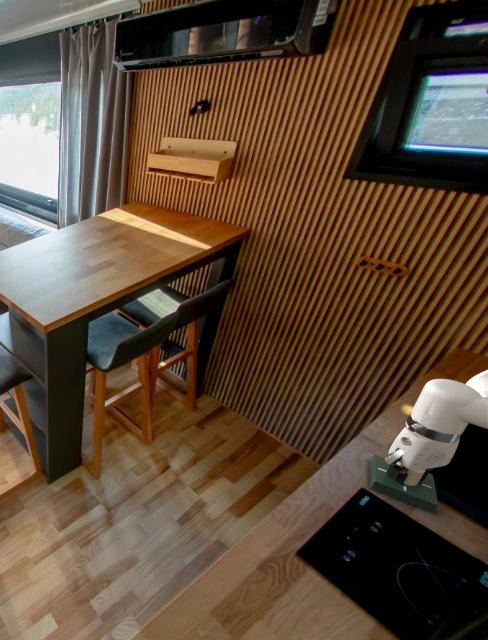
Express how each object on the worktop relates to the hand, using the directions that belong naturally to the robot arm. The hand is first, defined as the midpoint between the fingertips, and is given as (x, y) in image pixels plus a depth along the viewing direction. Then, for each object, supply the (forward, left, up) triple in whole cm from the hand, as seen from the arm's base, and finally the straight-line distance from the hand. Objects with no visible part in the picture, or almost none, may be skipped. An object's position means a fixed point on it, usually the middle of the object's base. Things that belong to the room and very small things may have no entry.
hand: (404, 477), depth 91 cm
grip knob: (0, 0, 0) cm, 0 cm away
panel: (0, 0, -3) cm, 3 cm away
